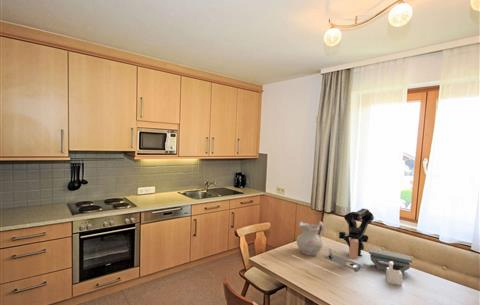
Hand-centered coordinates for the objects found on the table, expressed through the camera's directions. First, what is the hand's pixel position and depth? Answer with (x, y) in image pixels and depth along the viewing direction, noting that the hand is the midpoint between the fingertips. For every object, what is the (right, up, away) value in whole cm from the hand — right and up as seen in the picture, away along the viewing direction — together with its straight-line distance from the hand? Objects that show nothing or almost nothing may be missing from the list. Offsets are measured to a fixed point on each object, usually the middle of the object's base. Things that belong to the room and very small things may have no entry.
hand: (353, 248), depth 170 cm
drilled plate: (-5, -13, +6) cm, 15 cm away
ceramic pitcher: (-25, -12, +21) cm, 35 cm away
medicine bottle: (+17, -15, -16) cm, 28 cm away
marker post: (0, -7, +2) cm, 7 cm away
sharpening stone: (+24, -15, 0) cm, 28 cm away
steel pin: (-11, -12, +14) cm, 21 cm away
